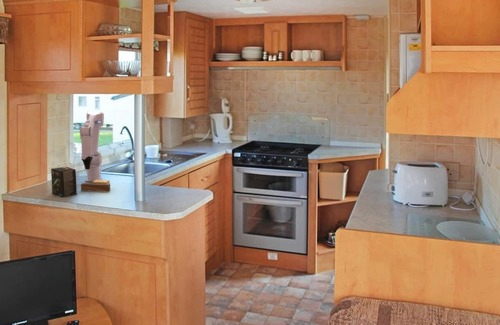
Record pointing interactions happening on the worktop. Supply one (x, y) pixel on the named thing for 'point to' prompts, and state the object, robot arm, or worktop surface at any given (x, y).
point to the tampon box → (63, 181)
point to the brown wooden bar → (95, 187)
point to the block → (102, 181)
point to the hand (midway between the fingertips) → (87, 169)
